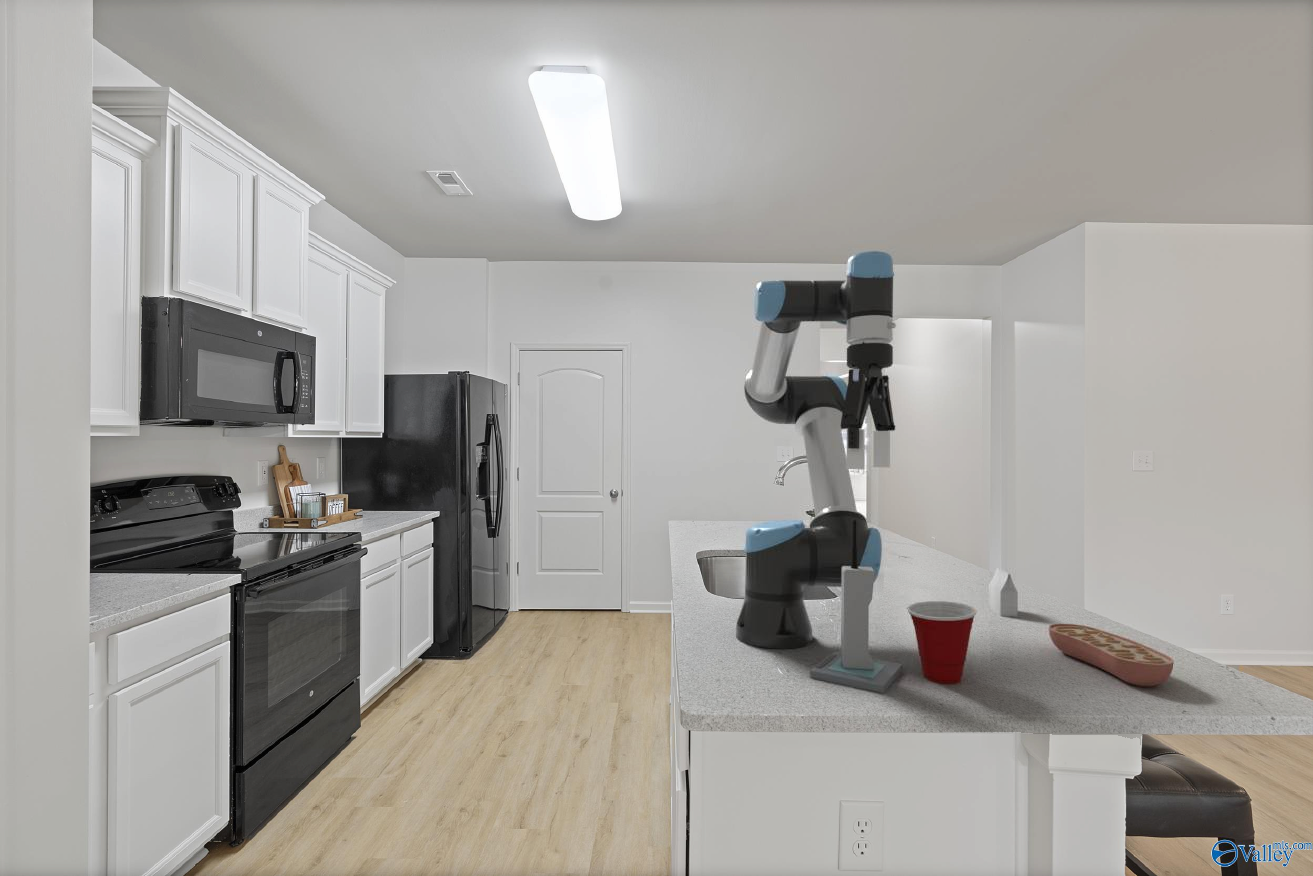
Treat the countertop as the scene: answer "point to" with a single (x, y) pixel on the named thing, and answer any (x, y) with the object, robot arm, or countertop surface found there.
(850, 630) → the vintage mobile phone
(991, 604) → the white house shaped block
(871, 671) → the pad
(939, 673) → the plastic cup
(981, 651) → the countertop surface
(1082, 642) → the anatomical model
